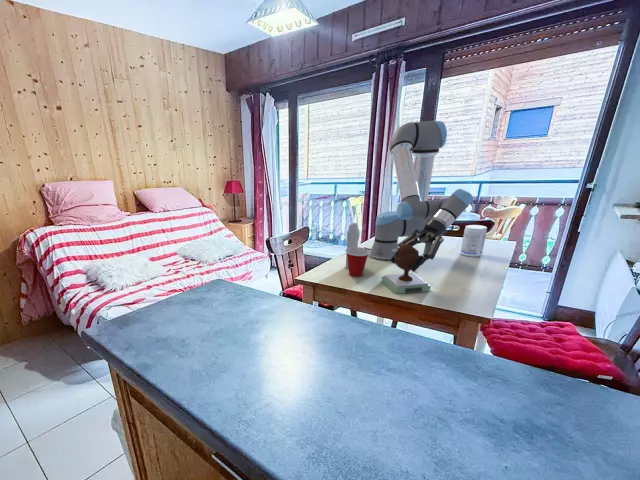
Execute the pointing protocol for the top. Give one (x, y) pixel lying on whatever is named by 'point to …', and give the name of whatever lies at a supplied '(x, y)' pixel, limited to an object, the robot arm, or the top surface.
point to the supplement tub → (473, 240)
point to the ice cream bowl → (406, 260)
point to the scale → (405, 284)
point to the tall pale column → (352, 237)
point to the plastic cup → (356, 260)
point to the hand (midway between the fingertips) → (401, 265)
